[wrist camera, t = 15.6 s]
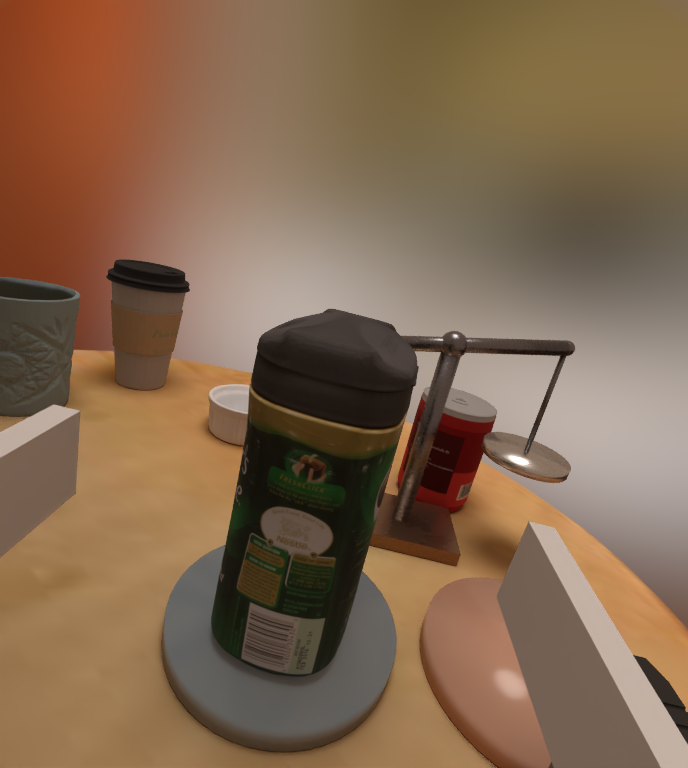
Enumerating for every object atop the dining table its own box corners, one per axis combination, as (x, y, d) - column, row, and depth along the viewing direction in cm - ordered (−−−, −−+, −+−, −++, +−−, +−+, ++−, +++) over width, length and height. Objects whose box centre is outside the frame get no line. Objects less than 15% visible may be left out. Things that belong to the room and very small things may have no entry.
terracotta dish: (432, 769, 23) (441, 748, 22) (412, 575, 36) (417, 560, 36) (705, 835, 23) (719, 816, 22) (584, 616, 36) (591, 602, 36)
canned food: (456, 482, 53) (486, 395, 50) (472, 522, 46) (508, 423, 42) (393, 467, 53) (419, 379, 50) (398, 505, 46) (428, 404, 42)
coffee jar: (252, 544, 33) (302, 291, 27) (357, 579, 32) (430, 324, 27) (182, 654, 24) (236, 308, 18) (326, 707, 23) (429, 360, 17)
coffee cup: (171, 400, 57) (186, 280, 52) (88, 388, 55) (96, 262, 50) (182, 375, 66) (195, 270, 61) (111, 364, 63) (119, 255, 59)
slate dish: (109, 713, 22) (112, 691, 21) (211, 535, 35) (214, 519, 35) (394, 782, 22) (402, 761, 21) (388, 578, 35) (392, 562, 35)
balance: (258, 518, 38) (304, 282, 32) (276, 477, 45) (317, 276, 39) (539, 586, 38) (638, 363, 32) (515, 534, 45) (593, 342, 39)
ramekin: (201, 413, 55) (206, 380, 54) (272, 418, 59) (278, 387, 58) (206, 448, 48) (212, 411, 46) (288, 451, 51) (295, 416, 50)
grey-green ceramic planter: (-3, 428, 42) (-4, 301, 39) (-65, 392, 46) (-71, 273, 42) (96, 403, 51) (102, 299, 48) (37, 375, 55) (39, 275, 51)
